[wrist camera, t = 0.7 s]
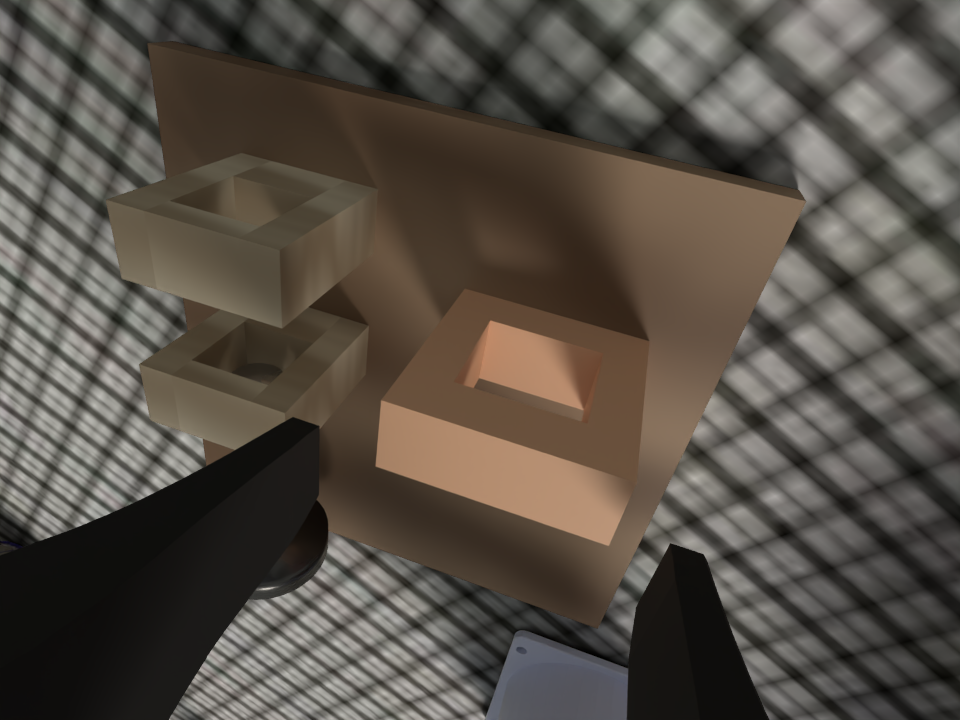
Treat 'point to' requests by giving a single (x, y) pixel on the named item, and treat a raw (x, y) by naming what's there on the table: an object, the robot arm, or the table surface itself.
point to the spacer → (521, 415)
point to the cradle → (425, 289)
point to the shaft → (310, 538)
